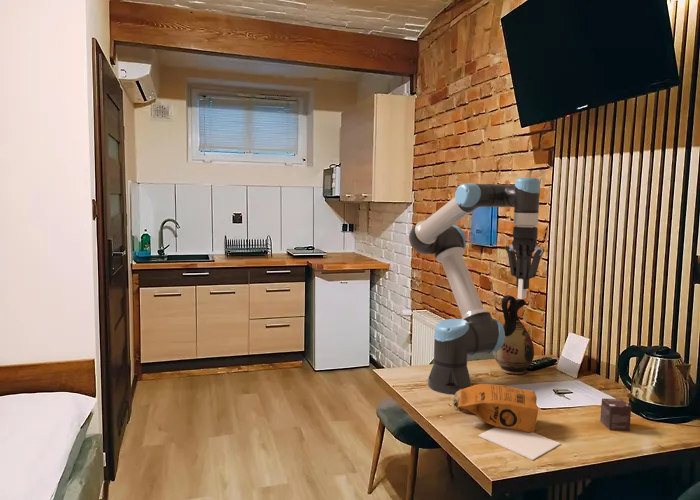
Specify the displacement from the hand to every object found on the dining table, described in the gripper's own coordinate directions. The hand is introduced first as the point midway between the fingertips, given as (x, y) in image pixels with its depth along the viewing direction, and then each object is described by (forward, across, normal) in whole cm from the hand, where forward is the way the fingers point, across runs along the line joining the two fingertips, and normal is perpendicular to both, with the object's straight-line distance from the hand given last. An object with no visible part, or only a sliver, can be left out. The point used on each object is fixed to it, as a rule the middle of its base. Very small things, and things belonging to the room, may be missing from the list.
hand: (521, 298), depth 167 cm
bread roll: (+35, +6, +18) cm, 39 cm away
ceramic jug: (+35, +18, -24) cm, 46 cm away
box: (+35, -29, -6) cm, 46 cm away
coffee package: (+30, -15, +14) cm, 36 cm away
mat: (+34, -16, +25) cm, 46 cm away
